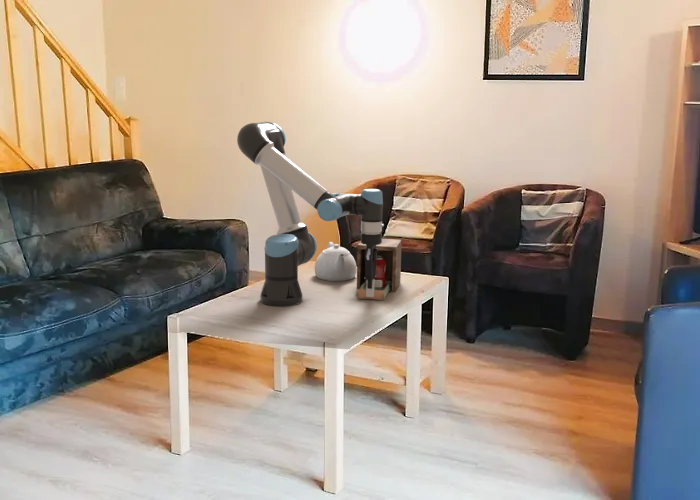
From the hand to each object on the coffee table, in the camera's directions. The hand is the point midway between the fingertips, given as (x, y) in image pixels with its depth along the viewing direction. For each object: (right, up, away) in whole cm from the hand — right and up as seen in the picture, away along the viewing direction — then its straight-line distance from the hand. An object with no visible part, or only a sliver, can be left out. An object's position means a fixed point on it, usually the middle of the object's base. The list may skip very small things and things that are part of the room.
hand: (370, 296), depth 285 cm
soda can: (+3, +2, +14) cm, 14 cm away
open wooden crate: (+4, +3, +20) cm, 21 cm away
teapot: (-13, +6, +35) cm, 38 cm away
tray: (+2, +1, +11) cm, 11 cm away
